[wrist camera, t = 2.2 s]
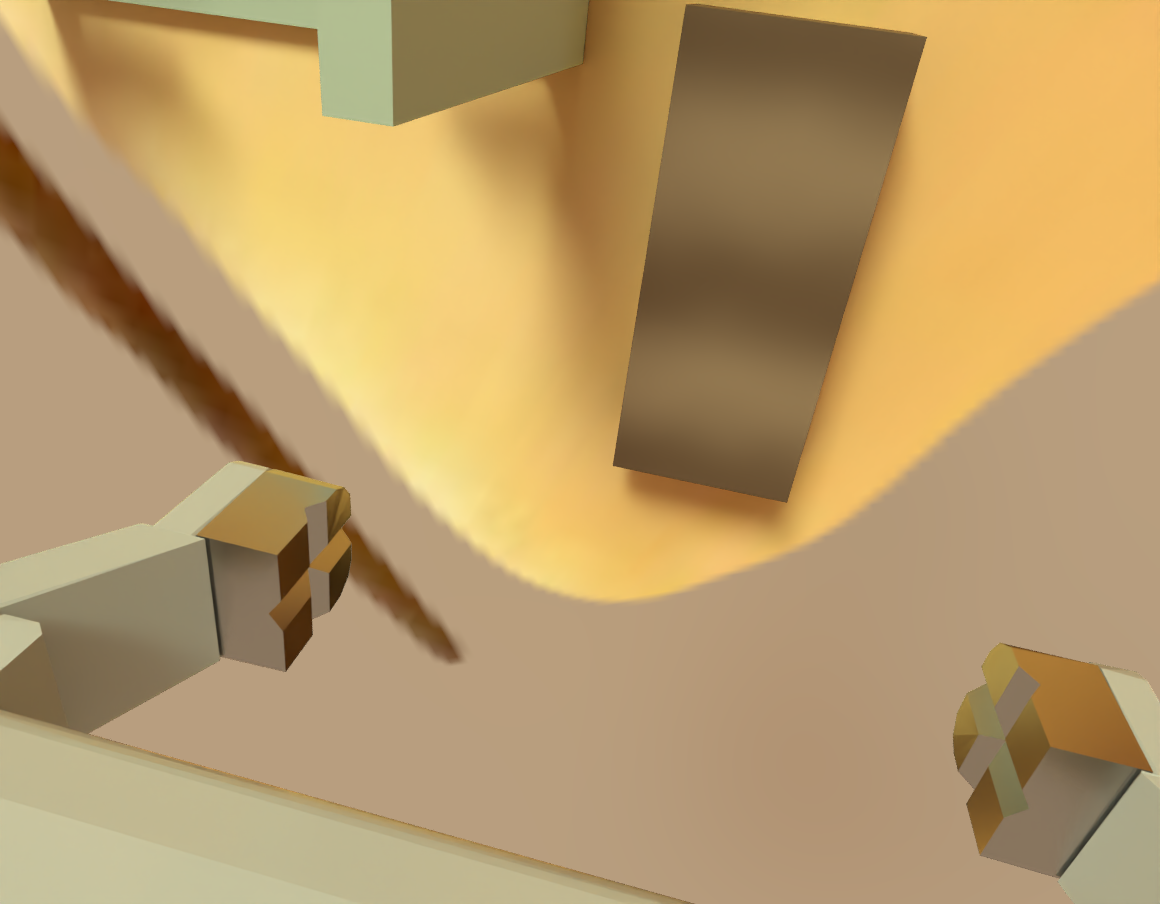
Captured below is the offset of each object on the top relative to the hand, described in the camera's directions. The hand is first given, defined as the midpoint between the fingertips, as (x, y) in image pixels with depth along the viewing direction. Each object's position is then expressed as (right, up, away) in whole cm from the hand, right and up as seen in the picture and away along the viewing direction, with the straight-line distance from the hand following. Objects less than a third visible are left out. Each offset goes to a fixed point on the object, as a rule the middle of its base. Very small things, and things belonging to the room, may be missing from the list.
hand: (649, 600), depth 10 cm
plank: (+5, +8, +16) cm, 19 cm away
